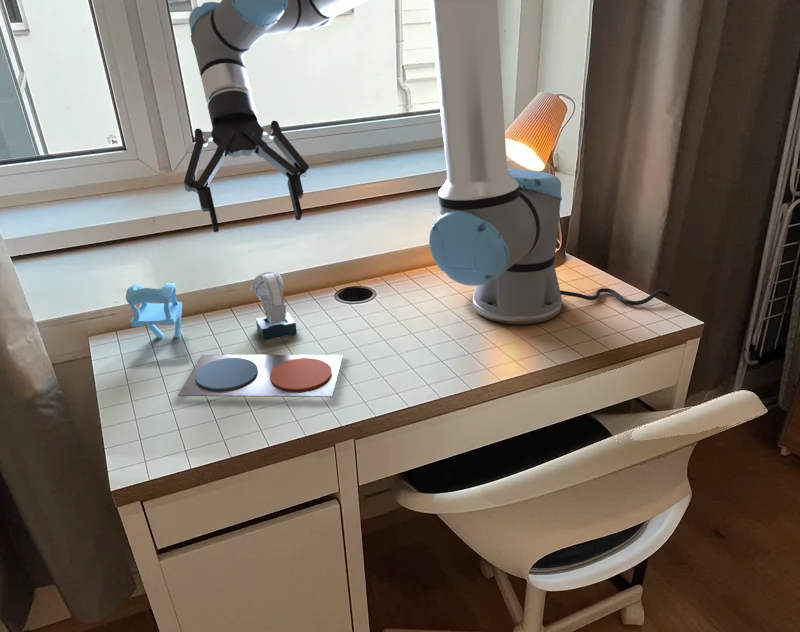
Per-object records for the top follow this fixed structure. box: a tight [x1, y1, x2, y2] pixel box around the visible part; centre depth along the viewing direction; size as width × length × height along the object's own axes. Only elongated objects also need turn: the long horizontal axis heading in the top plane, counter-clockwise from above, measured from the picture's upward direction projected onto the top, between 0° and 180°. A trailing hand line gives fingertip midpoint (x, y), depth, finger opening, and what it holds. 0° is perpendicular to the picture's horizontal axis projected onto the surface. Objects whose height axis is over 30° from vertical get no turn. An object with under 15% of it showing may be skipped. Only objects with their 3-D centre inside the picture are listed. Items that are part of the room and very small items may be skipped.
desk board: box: [177, 354, 344, 398], centre depth 104 cm, size 22×12×1 cm, turn 87°
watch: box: [249, 271, 298, 341], centre depth 113 cm, size 6×8×11 cm
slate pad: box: [195, 358, 258, 390], centre depth 104 cm, size 9×9×1 cm
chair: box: [125, 281, 184, 340], centre depth 110 cm, size 8×8×12 cm
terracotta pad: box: [270, 358, 332, 391], centre depth 103 cm, size 9×9×1 cm
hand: (258, 223), depth 115 cm, fingers open, 13 cm apart
